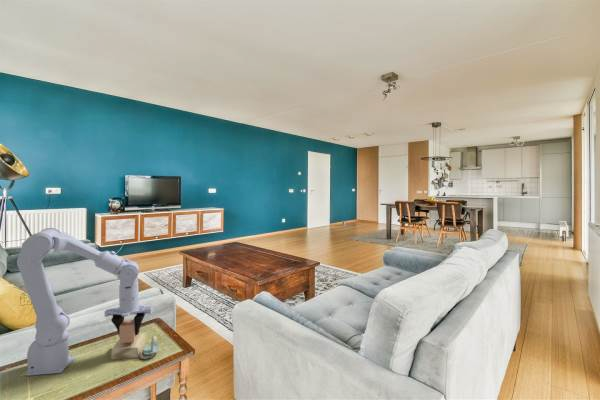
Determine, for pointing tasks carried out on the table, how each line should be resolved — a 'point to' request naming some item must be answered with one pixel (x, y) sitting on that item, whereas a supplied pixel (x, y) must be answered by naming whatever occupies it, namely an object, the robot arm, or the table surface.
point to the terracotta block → (127, 331)
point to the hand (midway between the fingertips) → (129, 334)
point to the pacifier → (150, 349)
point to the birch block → (128, 348)
